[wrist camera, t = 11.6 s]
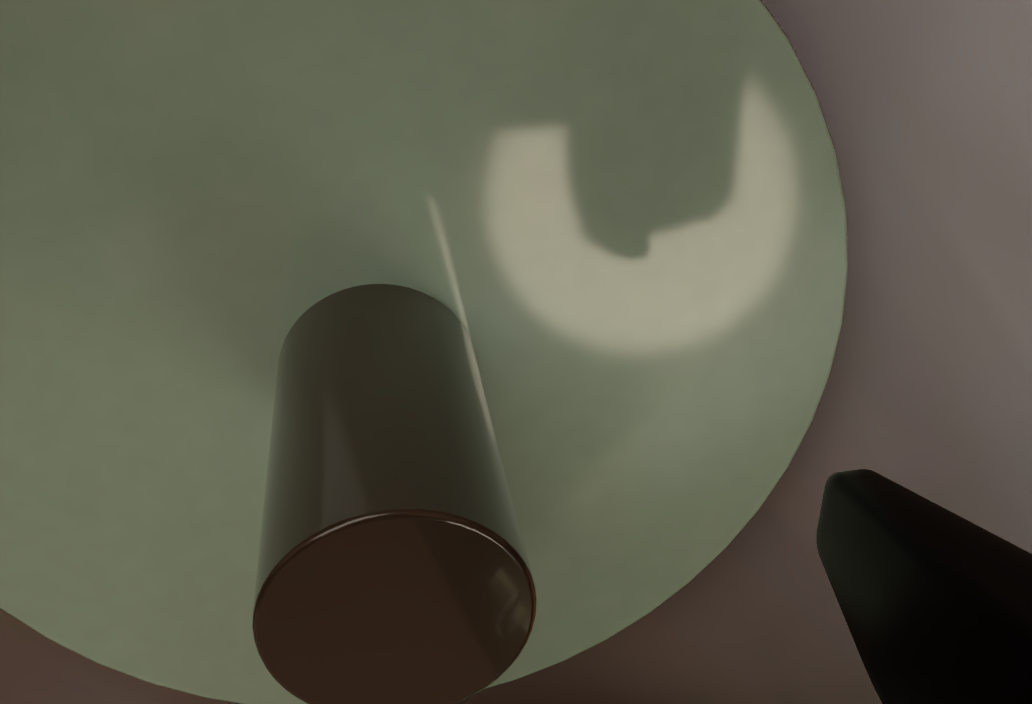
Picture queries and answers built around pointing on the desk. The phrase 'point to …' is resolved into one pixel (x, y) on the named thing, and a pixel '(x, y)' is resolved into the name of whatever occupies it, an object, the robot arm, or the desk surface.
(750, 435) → the lid
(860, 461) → the desk surface
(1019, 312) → the desk surface
